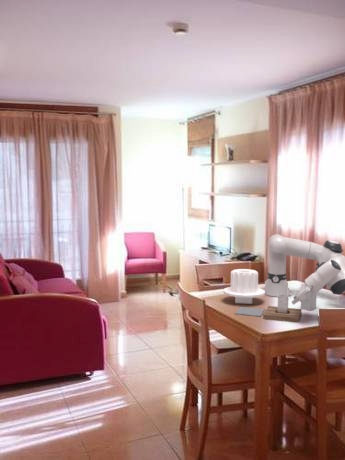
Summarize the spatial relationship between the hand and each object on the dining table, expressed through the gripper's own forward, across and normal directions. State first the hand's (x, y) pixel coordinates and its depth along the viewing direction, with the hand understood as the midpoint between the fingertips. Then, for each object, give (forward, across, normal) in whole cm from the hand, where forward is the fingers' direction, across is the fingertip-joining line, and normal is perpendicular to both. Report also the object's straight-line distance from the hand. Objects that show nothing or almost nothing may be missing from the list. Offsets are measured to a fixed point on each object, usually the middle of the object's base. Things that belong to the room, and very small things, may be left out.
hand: (293, 301), depth 233 cm
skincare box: (+2, +21, -11) cm, 24 cm away
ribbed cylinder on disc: (+29, +24, +16) cm, 40 cm away
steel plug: (+10, 0, -2) cm, 11 cm away
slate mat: (+23, +2, +11) cm, 25 cm away
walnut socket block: (+10, 0, -2) cm, 11 cm away
